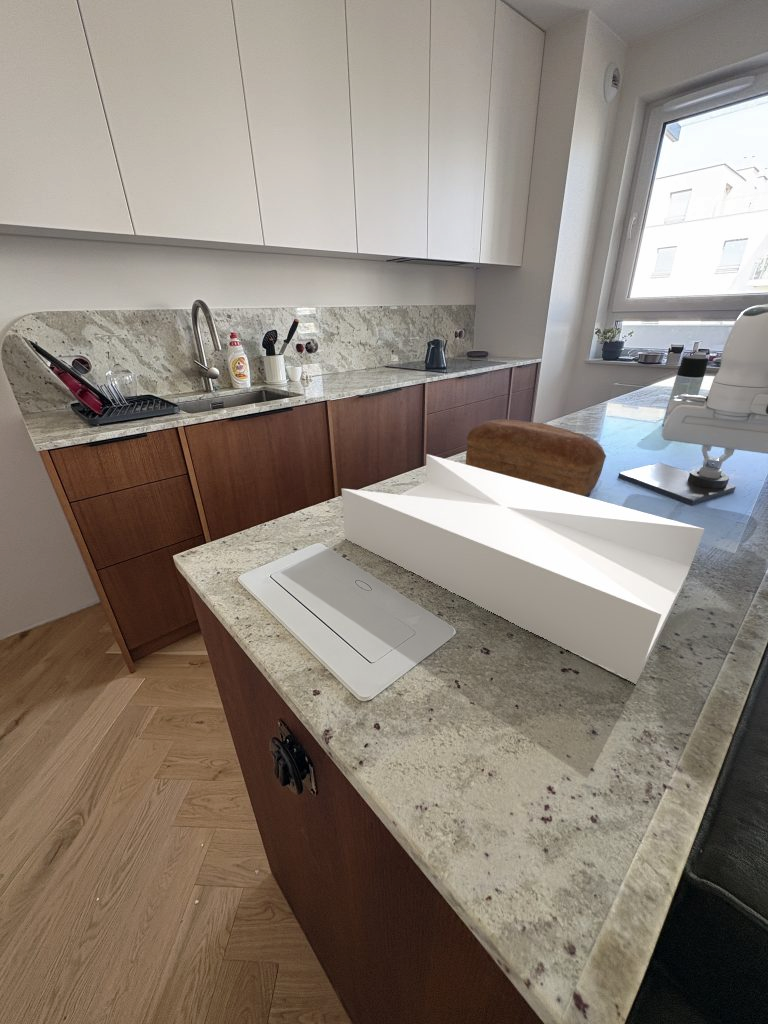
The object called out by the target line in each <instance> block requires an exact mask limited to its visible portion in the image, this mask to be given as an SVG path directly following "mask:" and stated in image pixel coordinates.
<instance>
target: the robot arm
mask: <svg viewBox="0 0 768 1024" xmlns="http://www.w3.org/2000/svg"><path fill="white" fill-rule="evenodd" d="M726 338H727V339H726V341H725V343H724V346H723V350H722V351H721V355H720V366H719V368H718V371H717V373H716V374H715V376H714V377H713V379H712V382H711V385H710V388H709V392H708V394H707V395H698V396H691V395H686V394H682V395H680V396H676V397H674V398H672V399H671V400H670V401H669V400H668V403H669V404H668V403H667V406H668V407H667V406H666V409H667V414H668V415H669V416H668V418H667V420H666V422H665V425H664V426H663V428H662V431H661V434H660V435H661V437H662V439H663V440H664V441H669V442H677V443H683V444H691V445H700V446H701V453H702V456H703V460H702V465H701V466H702V467H708V468H714V469H722V465H723V462H725V461H727V460H728V459H729V458H731V457H732V456H734V453H735V451H736V450H737V451H742V452H743V451H744V452H752V453H759V454H766V455H768V303H763V304H757V305H754V306H751V307H748V308H747V309H745V310H742V312H741V313H740V314H739V316H738V317H737V318H736V320H735V322H734V323H733V326H732V327H731V329H730V332H729V334H728V336H727V337H726ZM677 398H679V399H680V400H678V399H677ZM689 400H690V401H689ZM712 447H713V448H721V449H723V454H722V455H720V456H719V457H711V456H709V452H710V451H711V450H712Z"/></svg>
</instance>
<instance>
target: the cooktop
mask: <svg viewBox="0 0 768 1024" xmlns="http://www.w3.org/2000/svg"><path fill="white" fill-rule="evenodd" d="M699 471H700V468H694V469H691V470H690V471H687V470H685V469H682V468H678V467H676V466H672V465H668V464H667V463H664V462H658V463H653V464H649V465H645V466H642V467H637V468H633V469H630V470H625V471H621V472H619V473H618V476H617V478H618V479H620V480H622V481H625V482H628V483H631V484H634V485H636V486H638V487H641V488H643V489H646V490H648V491H652V492H654V493H656V494H659V495H662V496H664V497H667V498H669V499H672V500H675V501H677V502H680V503H683V504H685V505H688V506H691V507H692V506H696V505H699V504H702V503H705V502H707V501H711V500H715V499H717V498H721V497H723V496H726V495H729V494H732V493H734V492H735V490H736V489H737V487H736V486H735V485H730V484H728V483H729V481H730V476H729V475H727V474H725V473H723V472H722V473H721V476H720V478H719V479H712V478H706V477H703V476H700V475H699Z"/></svg>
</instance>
